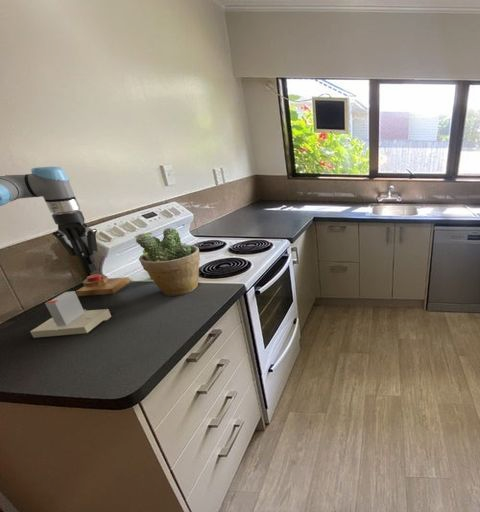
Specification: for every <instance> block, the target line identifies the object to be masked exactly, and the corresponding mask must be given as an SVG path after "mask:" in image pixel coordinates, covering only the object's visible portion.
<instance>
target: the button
mask: <svg viewBox="0 0 480 512" xmlns="http://www.w3.org/2000/svg"><path fill="white" fill-rule="evenodd" d="M101 275H102V274H101V273H95V274H91V275H88V276H86V279H87V280H88V282H93V281H98V280H100V279H102V277H101Z"/></svg>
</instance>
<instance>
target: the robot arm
mask: <svg viewBox="0 0 480 512" xmlns="http://www.w3.org/2000/svg"><path fill="white" fill-rule="evenodd" d="M30 170H31V171H30V172H31V173H26V174H9V175H8V174H5V176H0V207H1V206H4V205H7V204H9V203H11V202H13V201H16V200H19V199H29V198H40V197H42V198H43V200H44V203H45V204H46V207H47V208H48V211H49V212H50V213H51V217H52V219H53V221H54V223H55V225H57V229H56V230H55V231H53V232H52V233H51V234H52V235H53V236H54V237H55V238H56V239H58V241H59V242H60V244H61V245H62V246H63V247H64V249H65V250H66V252H67V253H68V254H69V255H70V256H71V257H74V256H75V257H77V258H78V260H79V263H80V264H81V265H83V267H84V269H85V271H86V274H90V273H91V274H92V273H93V272H95V271H97V270H98V269H97V267H96V264H95V263H96V260H95V257H94V254H97V253H98V251H99V250H98V243H97V233H98V230H97V229H96V228H90V227H89V226H88V224H86V222H85V221H86V220H85V217H84V214H83V212H82V211H81V206H80V205H79V201H78V200H77V198H76V196H75V193H74V190H73V188H72V186H71V185H72V184H71V183H70V179H69V177H68V176H67V174H66V172H65V170H64V169H63V168H62V167H60V166H39V167H38V166H37V167H32V168H31V169H30Z"/></svg>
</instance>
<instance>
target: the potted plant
mask: <svg viewBox="0 0 480 512" xmlns="http://www.w3.org/2000/svg"><path fill="white" fill-rule="evenodd" d="M162 233H163V235H162V236H163V238H162V239H160V238H158V237H156V236H153V235H150V236H149V235H148V234H143V233H139V234H140V235H139V234H138V235H139V236H138V237H137V238H135V243H137V244H138V245H139V246H140V247H141V248H142V249H143V250H145V252H147V253H145V254H143V253H142V254H141V255H140V256H139V258H138V261H139V262H140V264H141V266H142V268H143V270H144V271H146V272H147V274H148V276H149V278H150V279H151V280H152V281H153V282H154V284H155V285H156V286H157V287H158V288H159V290H160V291H161V292H162V293H163V295H165V296H166V297H167V296H168V297H176V296H177V297H178V296H182V295H185V294H189V293H191V292H193V291H194V290H195V289H197V288H198V285H199V273H200V270H199V269H200V260H201V257H200V248H199V247H198V246H196V245H193V244H187V243H186V242H185V243H182V241H181V240H182V239H181V237H180V234H179V231H178V230H177V228H174V227H167V228H164V230H163V232H162Z"/></svg>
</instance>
